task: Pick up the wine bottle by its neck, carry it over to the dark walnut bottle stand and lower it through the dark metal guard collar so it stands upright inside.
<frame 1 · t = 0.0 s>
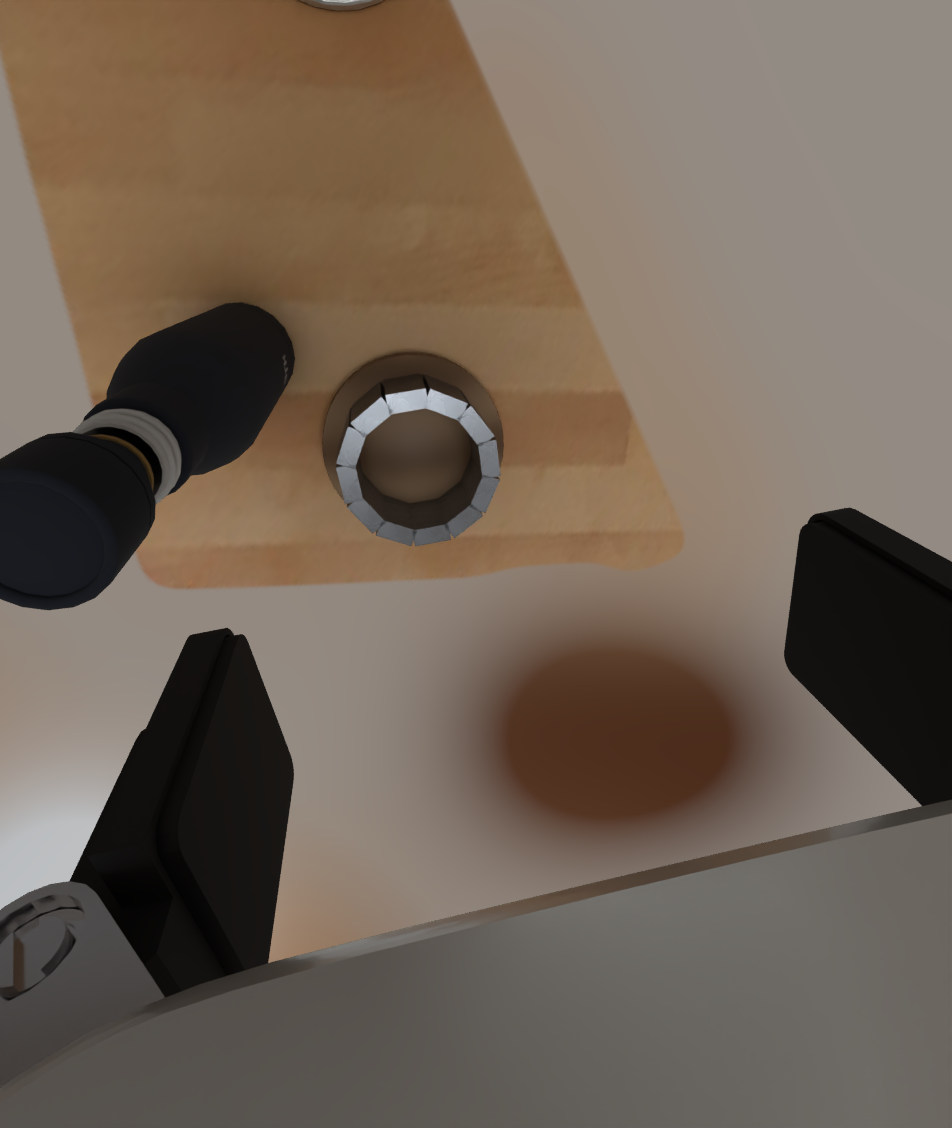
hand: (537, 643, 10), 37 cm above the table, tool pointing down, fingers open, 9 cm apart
wine bottle: (245, 353, 42), on the table
bottle stand: (413, 443, 46), on the table
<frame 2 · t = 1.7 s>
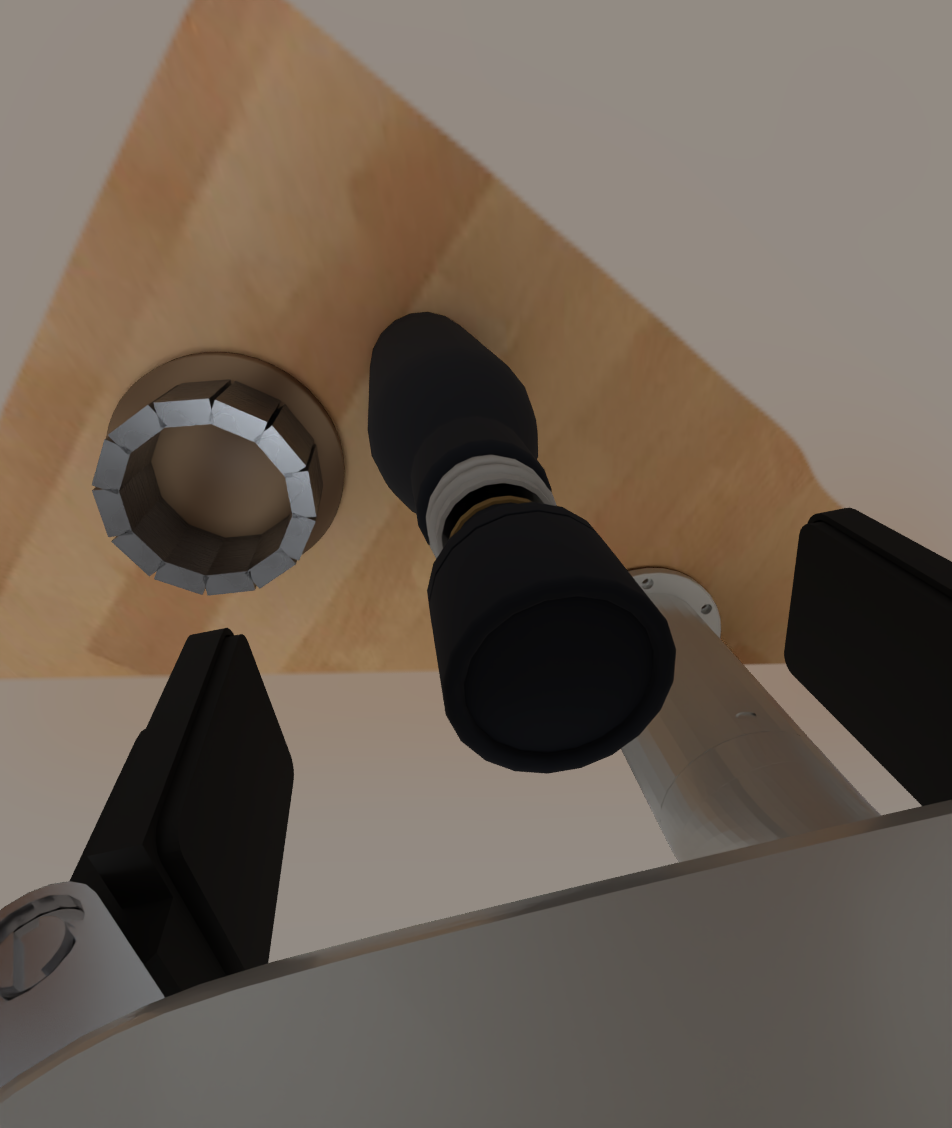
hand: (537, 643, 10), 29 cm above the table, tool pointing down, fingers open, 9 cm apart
wine bottle: (425, 369, 37), on the table
bottle stand: (233, 465, 37), on the table
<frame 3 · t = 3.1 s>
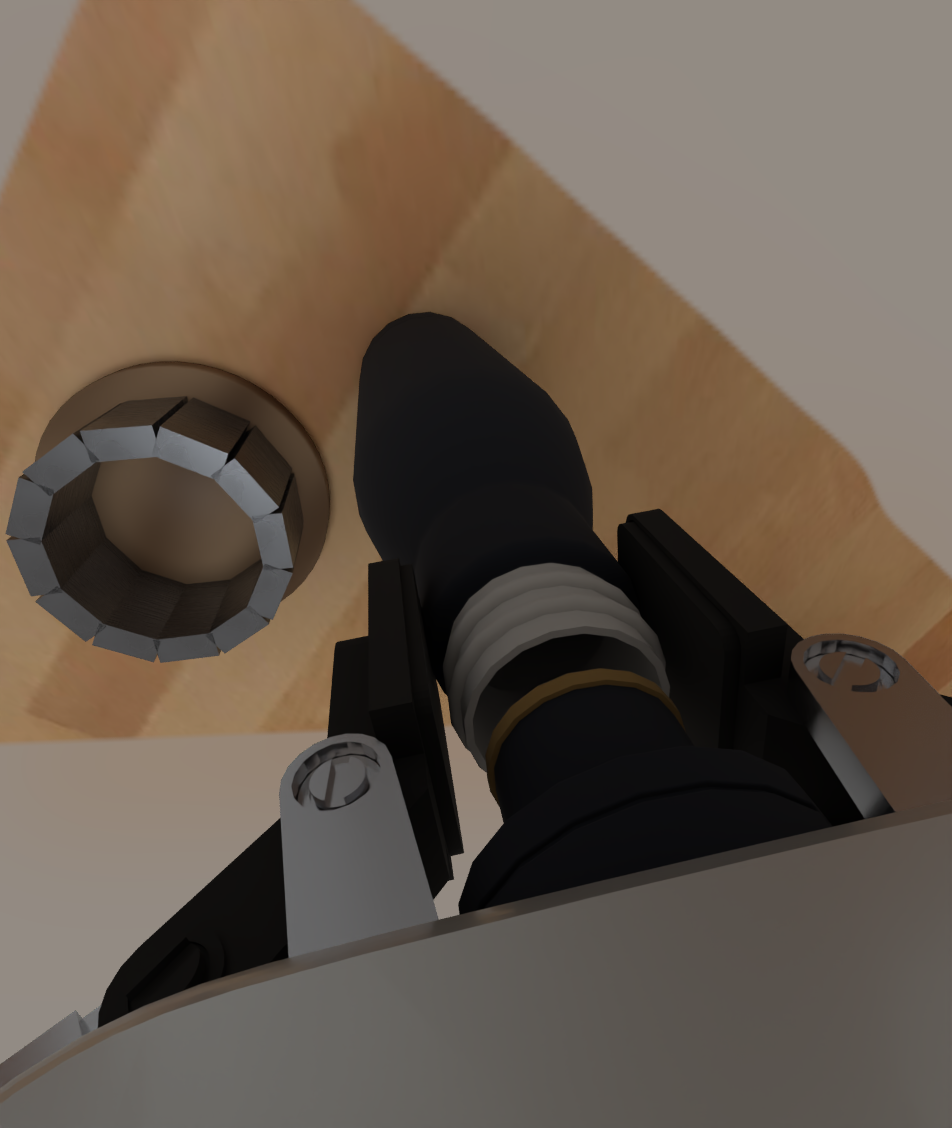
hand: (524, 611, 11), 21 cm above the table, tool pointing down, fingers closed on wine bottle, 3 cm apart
wine bottle: (426, 382, 30), on the table, touching gripper
bottle stand: (195, 497, 31), on the table
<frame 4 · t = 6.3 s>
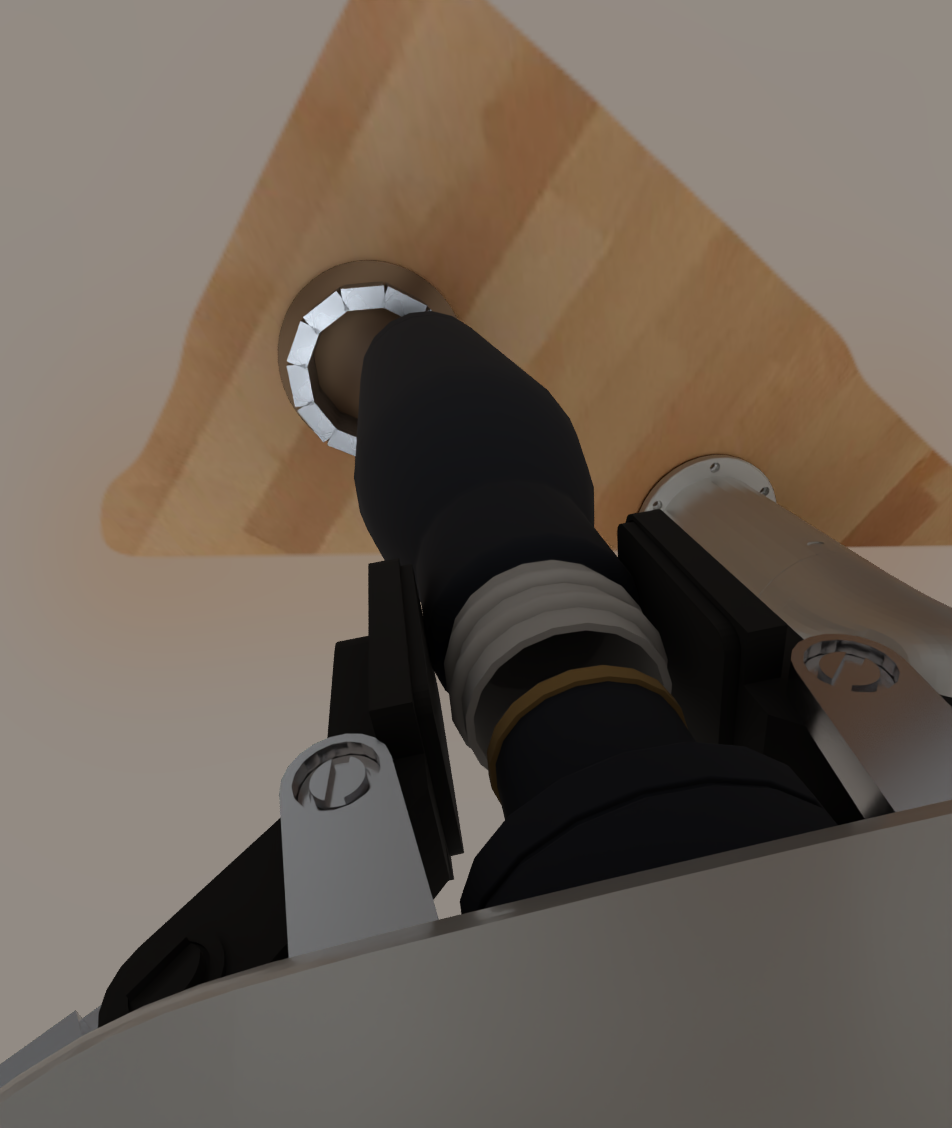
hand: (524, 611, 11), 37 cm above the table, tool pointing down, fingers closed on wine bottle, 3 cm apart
wine bottle: (427, 380, 30), point 16 cm above the table, touching gripper
bottle stand: (374, 361, 44), on the table
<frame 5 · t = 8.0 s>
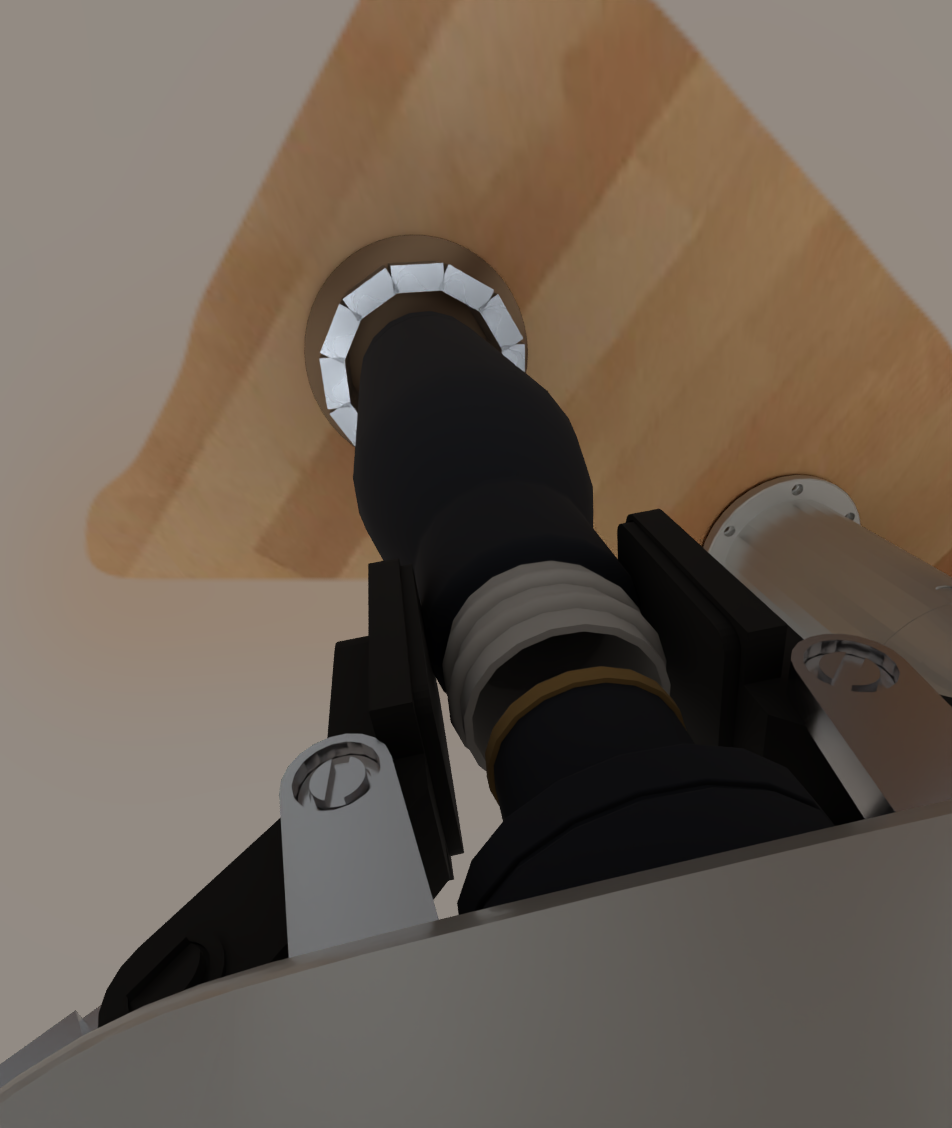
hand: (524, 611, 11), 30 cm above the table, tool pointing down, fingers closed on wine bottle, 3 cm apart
wine bottle: (427, 381, 30), point 8 cm above the table, touching gripper
bottle stand: (417, 356, 38), on the table
when the fingers open (25 cm above the table, at t = 9.3 s): wine bottle drops 2 cm, resting on bottle stand.
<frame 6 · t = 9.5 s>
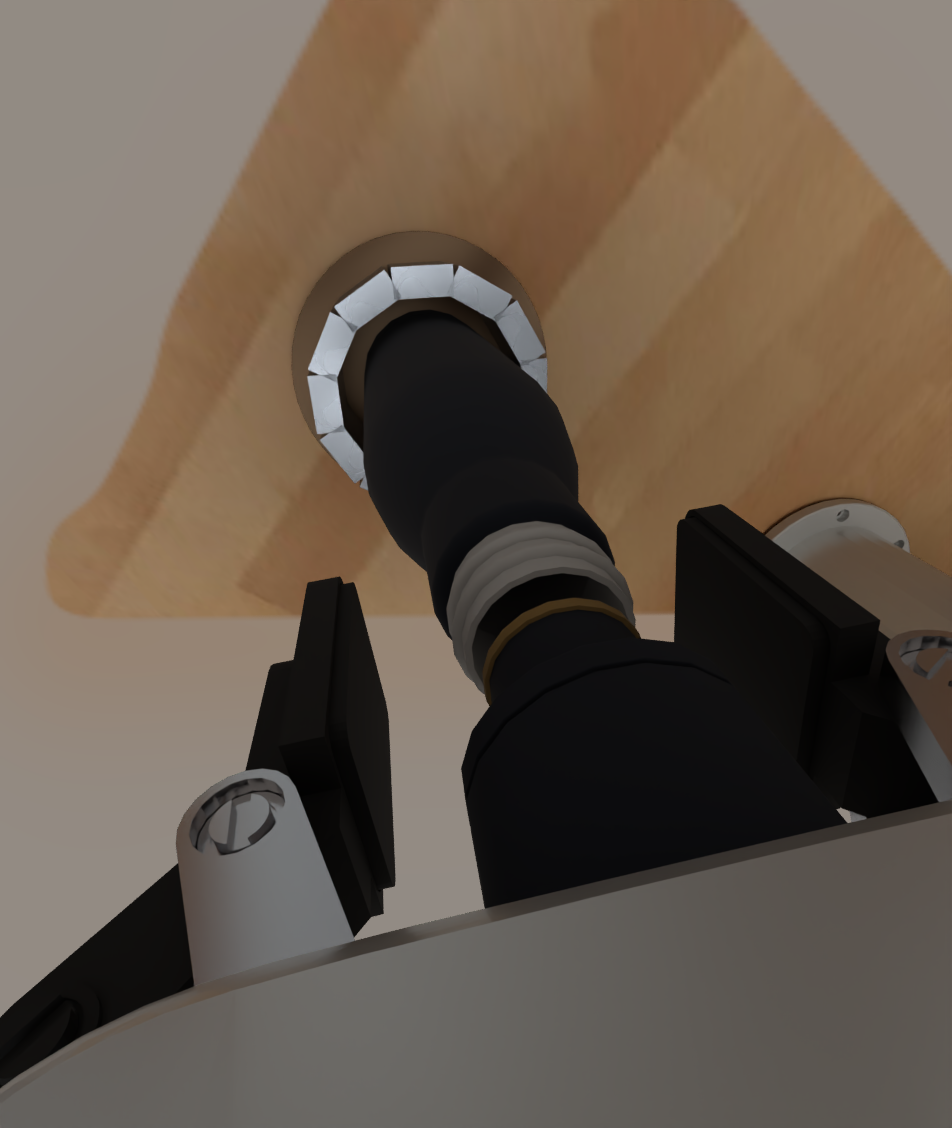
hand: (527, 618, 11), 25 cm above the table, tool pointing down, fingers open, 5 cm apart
wine bottle: (427, 375, 32), point 1 cm above the table, touching bottle stand
bottle stand: (421, 369, 33), on the table
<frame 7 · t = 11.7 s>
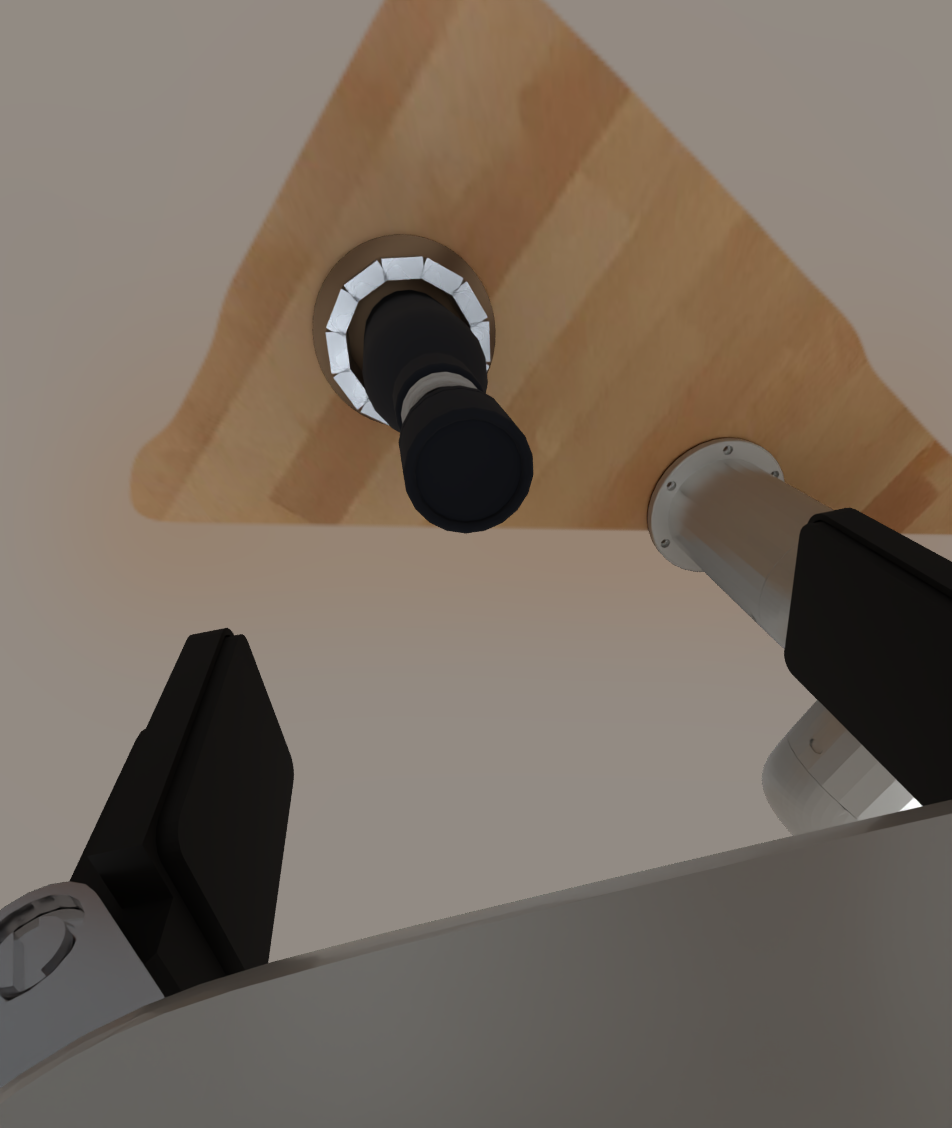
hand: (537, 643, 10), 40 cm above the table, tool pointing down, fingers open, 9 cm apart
wine bottle: (409, 337, 45), point 1 cm above the table, touching bottle stand
bottle stand: (405, 334, 46), on the table
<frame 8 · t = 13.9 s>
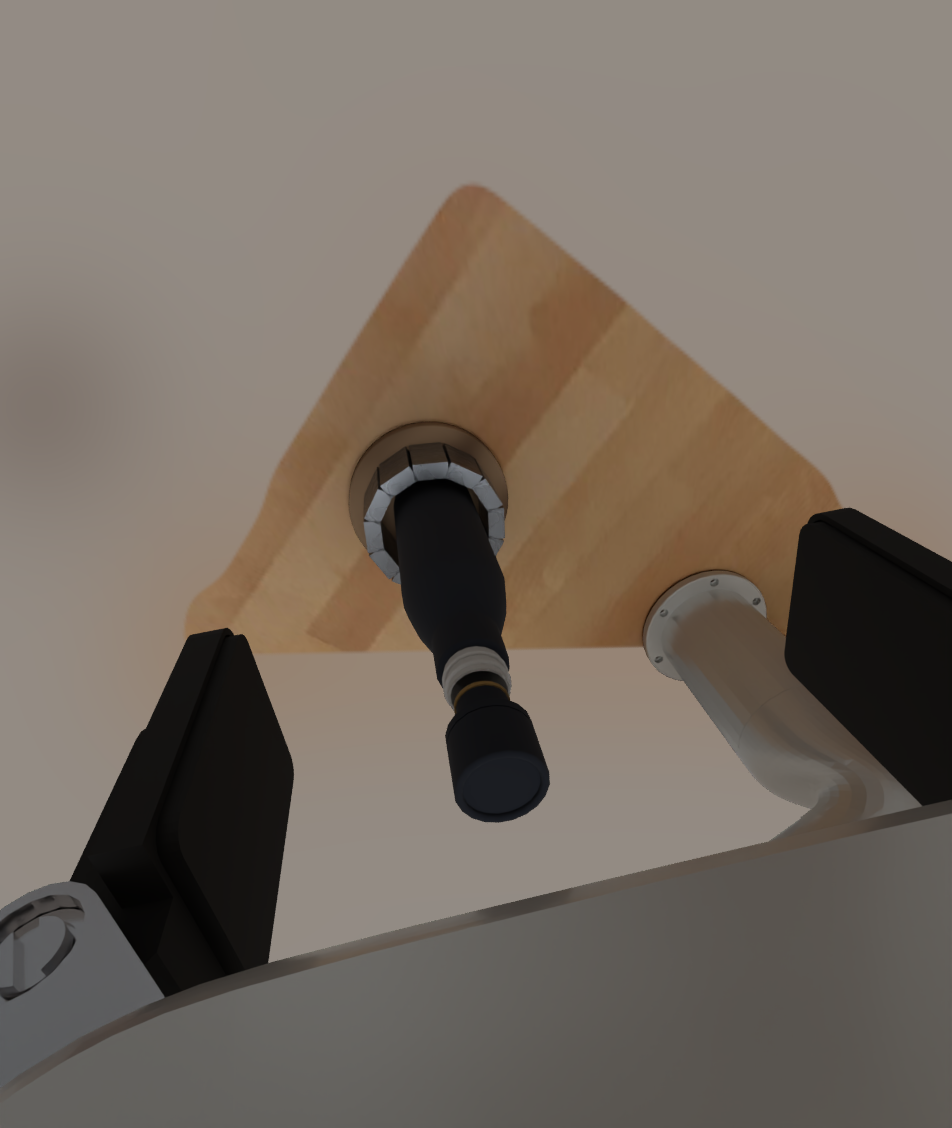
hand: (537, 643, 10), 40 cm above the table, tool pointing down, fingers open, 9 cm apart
wine bottle: (432, 505, 51), point 1 cm above the table, touching bottle stand
bottle stand: (428, 498, 52), on the table
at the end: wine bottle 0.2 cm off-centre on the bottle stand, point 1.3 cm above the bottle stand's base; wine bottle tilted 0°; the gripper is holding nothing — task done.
